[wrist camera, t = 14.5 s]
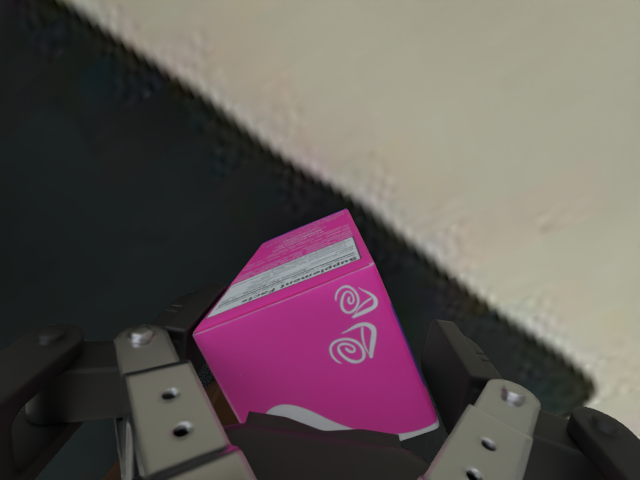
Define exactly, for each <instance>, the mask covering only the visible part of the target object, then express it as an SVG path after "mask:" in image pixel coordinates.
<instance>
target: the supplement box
mask: <svg viewBox="0 0 640 480" xmlns="http://www.w3.org/2000/svg"><path fill="white" fill-rule="evenodd" d="M193 338H194V340H195V342H196V344H197V346H198V348H199V349H200V351H201V353H202V355H203V357H204V359H205V361H206V363H207V365H208V367H209V368H210V370H211V372H212V374H213V376H214V377H215V379H216V381H217V383H218V385H219V387H220V388H221V390H222V392H223V394H224V396H225V398H226V400H227V401H228V403H229V405H230V407H231V409H232V410H233V412H234V414H235V415H236V417H237V419H238V421H239V423H245V422H246V419H247V416H248V413H249V411H252V412H258V413H265V414H271V415H277V416H284V417H287V418H290V419H293V420H296V421H298V422H301V423H304V424H306V425H309V426H312V427H314V428H317V429H320V430H324V431H331V430H350V429H366V430H372V431H378V432H385V433H391V434H397V435H399V439H400V441H402V440H405V439H408V438H411V437H414V436H417V435H420V434H423V433H426V432H429V431H432V430H435V429H437V428H438V427H439V421H438V417H437V415H436V412H435V409H434V406H433V404H432V401H431V399H430V396H429V394H428V391H427V389H426V386H425V384H424V381H423V379H422V376H421V373H420V371H419V368H418V366H417V364H416V361H415V359H414V356H413V354H412V351H411V349H410V346H409V344H408V341H407V339H406V337H405V334H404V332H403V329H402V327H401V325H400V322H399V320H398V318H397V315H396V313H395V310H394V308H393V306H392V303H391V301H390V298H389V296H388V294H387V291H386V289H385V286H384V284H383V282H382V279H381V277H380V275H379V272H378V270H377V268H376V265H375V263H374V261H373V259H372V257H371V255H370V253H369V251H368V249H367V247H366V245H365V243H364V241H363V239H362V237H361V235H360V233H359V231H358V229H357V227H356V225H355V223H354V221H353V219H352V217H351V215H350V213H349V211H348V209H343V210H340V211H338V212H336V213H333V214H331V215H328V216H326V217H323V218H321V219H319V220H316V221H314V222H311V223H309V224H306V225H304V226H301V227H299V228H296V229H294V230H292V231H289V232H287V233H284V234H282V235H280V236H277V237H275V238H272V239H270V240H268V241H266V242H264V243H263V244H262V245H261V246H260V248H259V249H258V250H257V251H256V253H255V254H254V255H253V257H252V258H251V259H250V260H249V262H248V263H247V264H246V266H245V267H244V268H243V269H242V271H241V272H240V273H239V275H238V276H237V277H236V278H235V280H234V281H233V282H232V283H231V285H230V286H229V287H228V288H227V290H226V291H225V293H224V294H223V295H222V297H221V298H220V299H219V300H218V302H217V303H216V304H215V305H214V306H213V308H212V309H211V310H210V311H209V312H208V314H207V315H206V316H205V318H204V319H203V320H202V321H201V322H200V324H199V325H198V326H197V328H196V329H195V331H194V332H193Z"/></svg>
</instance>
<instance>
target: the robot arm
mask: <svg viewBox="0 0 640 480" xmlns="http://www.w3.org/2000/svg"><path fill="white" fill-rule="evenodd" d="M226 290H227V289H226V286H221V285H215V284H209V283H206V284H205V285H204V286H203V287H202V288H201V289H200V290H199V291H198V292H197V293H196V294H192V293H189V294H187V295H184V296H182V297H179V298H178V299H177V300H175V301H174V302H173V303H172V304H171V306H169V307H168V308H167V309H166V310H165V311H163V312H162V313H161V314H160V315H159V316H158V317H157V318H156V319H154V320H153V321H152V322H151V323H150V324H142V325H135V326H131V327H128V328H125V329H123V330H122V331H120V332H119V333H118V334H117V335H116V336H115V338H114V341H108V342H84V335H83V331H82V329H80V328H78V327H76V326H71V325H55V326H49V327H44V328H40V329H37V330H34V331H32V332H30V333H28V334H26V335H25V336H23V337H22V338H20V339H18V340H17V341H15V342H14V343H12V344H10V345H9V346H7V347H6V348H4V349H2V350H1V351H0V480H34V479H35V478H36V477H37V476H38V475H39V473H40V472H41V471H42V470H43V469H44V468H45V466H46V465H47V464H48V463H49V462H50V461H51V459H52V458H53V457H54V456H55V455H56V454H57V452H58V451H59V450H60V449H61V448H62V447H63V445H64V444H65V443H66V442H67V441H68V440H69V438H70V437H71V436H72V435H73V434H74V433H75V431H76V430H77V429H78V428H79V427H80V426H81V424H82V423H83V421H91V420H102V419H112V418H114V426H115V433H116V441H117V448H118V455H119V463H120V470H121V480H640V440H639V439H638V438H637V437H636V436H635V435H634V434H633V433H632V432H631V431H630V430H629V429H628V428H627V427H626V426H624V425H623V424H622V423H620V422H619V421H617V420H616V419H614V418H612V417H610V416H609V415H607V414H604V413H602V412H600V411H597V410H595V409H591V408H587V407H576V408H574V409H573V411H572V413H571V416H570V419H566V418H563V417H560V416H557V415H554V414H551V413H549V412H546V411H543V410H541V409H540V403H539V401H538V399H537V398H536V397H535V396H534V395H533V394H532V393H531V392H529V391H528V390H526V389H525V388H523V387H522V386H520V385H518V384H515V383H513V382H510V381H507V380H504V379H503V378H502V376H501V375H500V374H499V372H498V371H497V370H496V369H495V367H494V366H493V365H492V363H490V361H489V359H488V358H487V357H486V355H484V353H483V351H482V350H481V349H480V348H479V346H478V345H477V344H475V343H474V342H473V341H471V340H470V339H469V338H467V337H464V336H463V334H462V333H461V332H460V330H459V329H458V327H457V326H456V325H455V323H454V322H449V321H443V320H436V319H433V320H432V321H431V323H430V326H429V330H428V334H427V338H426V342H425V346H424V350H423V354H422V360H421V366H422V372H423V375H424V377H425V379H426V382H427V384H428V387H429V389H430V392H431V394H432V397H433V399H434V401H435V404H436V406H437V409H438V411H439V414H440V416H441V419H442V421H443V423H444V426H445V428H446V431H447V433H448V436H449V437H448V438H447V440H446V441H445V443H444V445H443V446H442V448H441V449H440V451H439V452H438V454H437V456H436V457H435V459H434V460H433V462H432V464H430V463H429V462H427V461H426V460H424V459H423V458H421V457H419V456H418V455H416V454H414V453H412V452H410V451H408V450H406V449H403V448H402V447H401V443H400V439H399V435H397V434H391V433H385V432H378V431H372V430H366V429H350V430H331V431H324V430H320V429H317V428H314V427H312V426H309V425H306V424H304V423H301V422H298V421H296V420H293V419H290V418H287V417H284V416H277V415H271V414H265V413H258V412H252V411H249V413H248V416H247V419H246V422H245V423H238V424H232V425H227V426H223V427H222V425H221V423H220V421H219V419H218V417H217V415H216V412H215V410H214V408H213V406H212V404H211V402H210V400H209V398H208V396H207V394H206V392H205V390H204V388H203V386H202V383H201V381H200V379H199V377H198V375H197V374H198V373H199V371H200V370H201V368H202V366H203V365H204V363H205V362H206V361H205V359H204V357H203V355H202V353H201V351H200V349H199V348H198V346H197V344H196V342H195V340H194V338H193V332H194V331H195V329H196V328H197V326H198V325H199V324H200V322H201V321H202V320H203V319H204V318H205V316H206V315H207V314H208V312H209V311H210V310H211V309H212V308H213V306H214V305H215V304H216V303H217V302H218V300H219V299H220V298H221V297H222V295H223V294H224V293H225V291H226ZM24 405H25V410H24V411H23V412H22V413H21V414H20V415H19V416H18V417H16V415H17V413H18V412H19V411H20V409H21V408H22V407H23V406H24ZM15 417H16V418H15Z"/></svg>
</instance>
